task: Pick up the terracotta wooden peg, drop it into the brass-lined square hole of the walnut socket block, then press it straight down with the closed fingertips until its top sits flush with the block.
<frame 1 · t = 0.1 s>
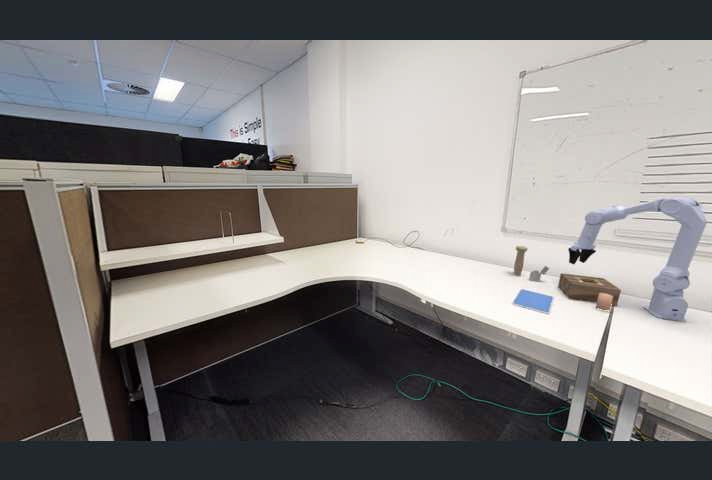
hand: (576, 262, 128), 11 cm above the table, tool pointing down, fingers open, 7 cm apart
tablet computer: (533, 302, 109), on the table
socket block: (585, 295, 116), on the table
peg: (602, 309, 104), on the table
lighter: (537, 281, 132), on the table
handle: (517, 275, 140), on the table
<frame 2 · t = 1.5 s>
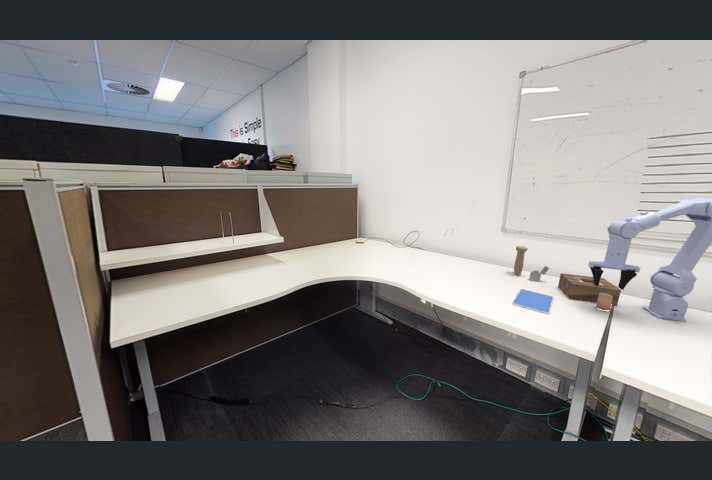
hand: (608, 286, 101), 9 cm above the table, tool pointing down, fingers open, 7 cm apart
nothing on the table moved.
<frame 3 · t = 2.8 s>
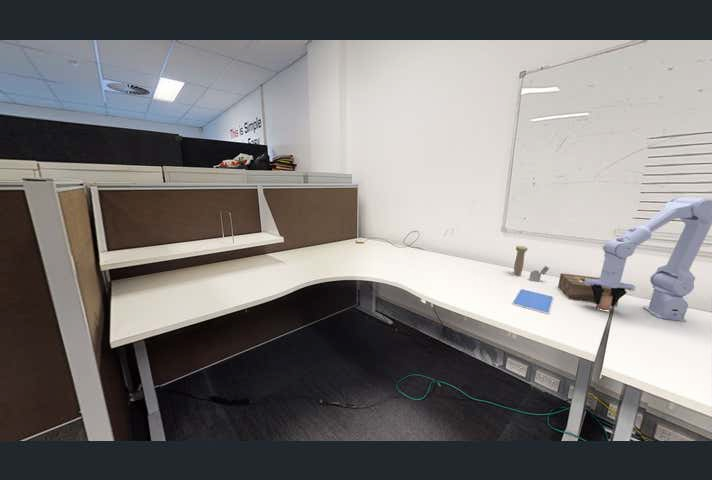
hand: (603, 304, 103), 2 cm above the table, tool pointing down, fingers closed on peg, 4 cm apart
peg: (602, 309, 104), on the table, touching gripper
everything else where it was.
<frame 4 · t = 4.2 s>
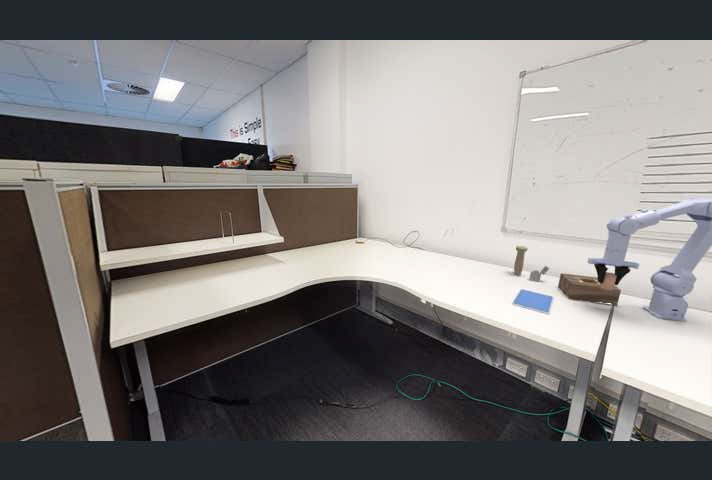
hand: (607, 283, 102), 10 cm above the table, tool pointing down, fingers closed on peg, 4 cm apart
peg: (606, 288, 102), point 8 cm above the table, touching gripper
everything else where it was.
when the fingers open (7 cm above the table, at t = 5.8 s): peg drops 2 cm, resting on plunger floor.
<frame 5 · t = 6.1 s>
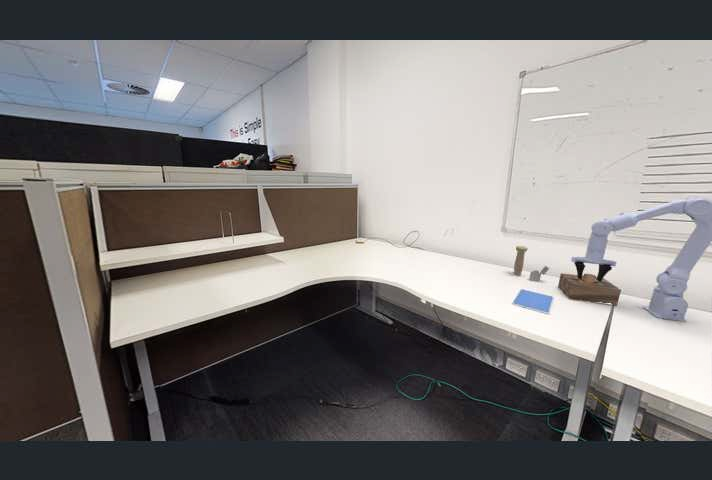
hand: (588, 279, 114), 8 cm above the table, tool pointing down, fingers open, 6 cm apart
peg: (586, 288, 115), point 4 cm above the table, touching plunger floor
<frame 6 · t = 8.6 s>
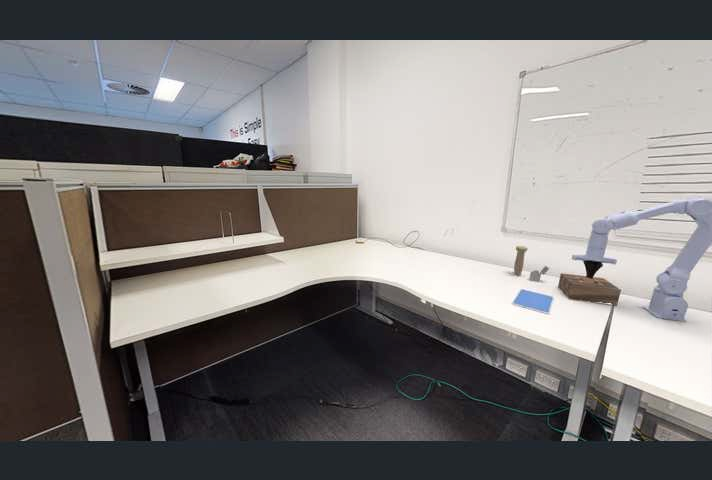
hand: (589, 277, 114), 8 cm above the table, tool pointing down, fingers closed, pressing on peg
peg: (586, 290, 115), point 2 cm above the table, touching gripper, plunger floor
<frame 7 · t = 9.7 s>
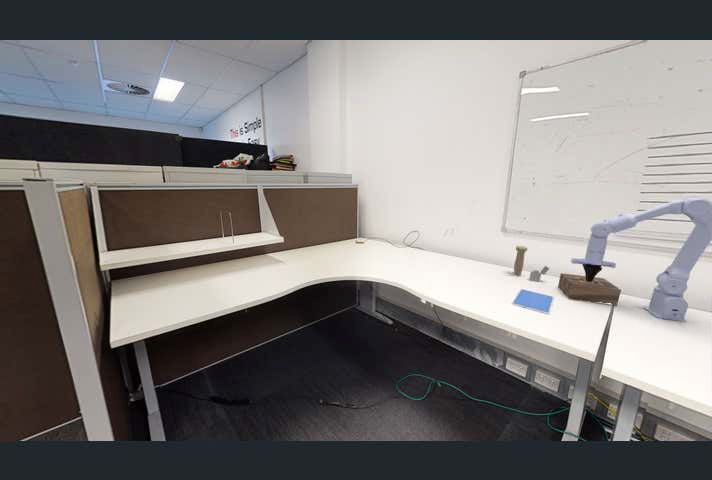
hand: (588, 281, 114), 7 cm above the table, tool pointing down, fingers closed
peg: (585, 293, 116), point 1 cm above the table, touching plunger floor
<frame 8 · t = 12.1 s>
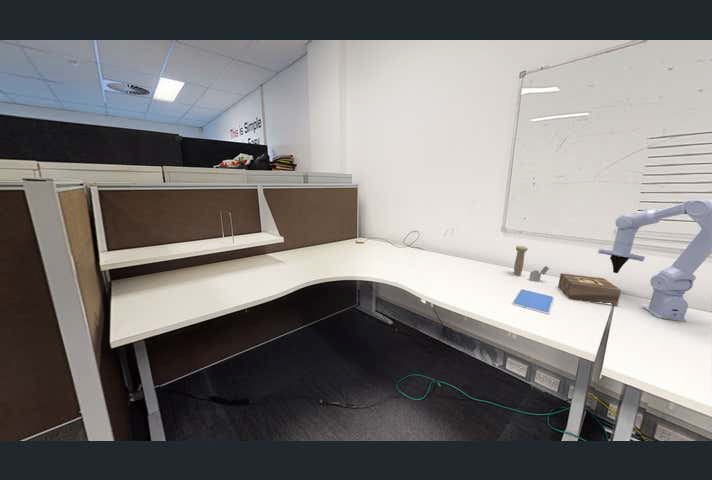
hand: (615, 272, 118), 9 cm above the table, tool pointing down, fingers closed
nothing on the table moved.
at the end: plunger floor slide at 3.1 cm; peg 0.0 cm off-centre on the socket block, point 0.8 cm above the socket block's base; peg tilted 0° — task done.
